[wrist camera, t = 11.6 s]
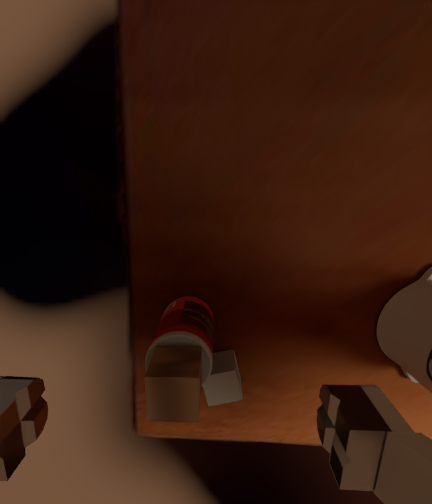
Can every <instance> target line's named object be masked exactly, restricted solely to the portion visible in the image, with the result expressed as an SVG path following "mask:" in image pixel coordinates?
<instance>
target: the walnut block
mask: <svg viewBox="0 0 432 504" xmlns="http://www.w3.org/2000/svg"><path fill="white" fill-rule="evenodd" d="M201 386H202V347H194V346H156V348H155V350H154V353H153V356H152V358H151V361H150V364H149V366H148V369H147V372H146V374H145V394H146V415H147V421H166V422H199V410H200V398H201Z"/></svg>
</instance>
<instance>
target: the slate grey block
mask: <svg viewBox="0 0 432 504" xmlns="http://www.w3.org/2000/svg"><path fill="white" fill-rule="evenodd" d="M203 389H204V392H205V396H206V399H207V403H208V406H213V405H219V404H224V403H229V402H235V401H240V400H243V395H242V386H241V377H240V372H239V368H238V364H237V360H236V356H235V352H234V349H231V350H226V351H221V352H217V353H213V364H212V370H211V374H210V376H209V378H208V380H207V381H206V383H205V384H204V385H203Z"/></svg>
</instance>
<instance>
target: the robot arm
mask: <svg viewBox="0 0 432 504" xmlns="http://www.w3.org/2000/svg"><path fill="white" fill-rule="evenodd" d="M377 340H378V343H379V346H380V348H381V349H382V351H383V352H384V354H385V355H386V356H387V357H388V358H390V359H391V360H392V361H394V362H395V363H397V364H398V365H399V366H400V367H401V369H402V370H403V372H404V374H405V375H406V377H407V378H409V379H410V380H411V381H412V382H414V383H420V384H421V385H423V386H424V387H425V388H426V389H427V390H429V391H430V392H431V393H432V267H430V268H429V269H428V270H427V271H426V272H425V273H424V274H423V275H422V277H421V278H420V279H419V280H417V281H416V282H414V283H412V284H410V285H408V286H407V287H405V288H403V289H402V290H400V291H399V292H398V293H396V294H395V295H394V296H393V297H392V298H391V299H390V300H389V301H388V302H387V304H386V305H385V307H384V308H383V310H382V312H381V314H380V316H379V319H378V323H377ZM44 391H45V387H44V382H43V380H42V379H40V378H33V377H14V376H5V377H4V376H0V481H8V480H9V478H10V477H11V475H12V474H13V472H14V471H15V470H16V468H17V467H18V465H19V464H20V463H21V461H22V460H23V458H24V457H25V455H26V454H25V447H27V446H28V445H30V444H31V443H33V442H34V441H35V440H37V438H38V437H39V435H40V434H41V432H42V431H43V429H44V426H45V423H46V421H47V416H48V405H47V402H46V401H45V400H44V399H43V398H42V397H41V395H42V394H43V392H44ZM319 397H320V399H321V401H322V403H323V404H322V405H321V406H320V407H319V408H318V410H317V429H318V433H319V437H320V440H321V443H322V446H323V447H324V448H325V449H326V450H327V451H328V452H329V453H330V462H329V464H330V466H331V468H332V471H333V474H334V476H335V479H336V481H337V484H338V486H339V488H340V489H345V490H363V491H374V493H375V494H376V496H377V497H378V498H380V500H381V501H382V502H383V503H384V504H432V440H431V439H430V438H428V437H426V436H425V435H423V434H422V433H415V432H414V431H413V430H412V429H411V427H410V426H409V425H408V423H407V422H406V421H405V420H404V418H403V417H402V416H401V415H400V413H399V412H398V411H397V409H396V408H395V407H394V406H393V404H392V403H391V402H390V401H389V399H388V398H387V397H386V395H385V394H384V393H383V392H382V390H381V389H380V388H379V387H378V386H376V385H322V387H321V389H320V395H319Z"/></svg>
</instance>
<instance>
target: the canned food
mask: <svg viewBox="0 0 432 504" xmlns="http://www.w3.org/2000/svg"><path fill="white" fill-rule="evenodd" d="M213 339H214V317H213V313H212V311H211V309H210V307H209V306H208V305H207V304H206V303H205V302H204V301H203V300H201V299H200V298H197V297H194V296H183V297H180V298H177V299H176V300H174V301H172V302H171V303H170V304H169V305H168V306H167V307H166V309H165V311H164V313H163V315H162V317H161V320H160V322H159V324H158V327H157V329H156V331H155V334H154V336H153V339H152V341H151V343H150V346H149V348H148V351H147V354H146V359H145V370H146V372H147V369H148V366H149V364H150V361H151V358H152V356H153V353H154V350H155V348H156V346H194V347H202V386H203V385H204V384H205V383H206V381H207V380H208V378H209V376H210V374H211V370H212V364H213ZM202 386H201V387H202Z"/></svg>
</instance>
